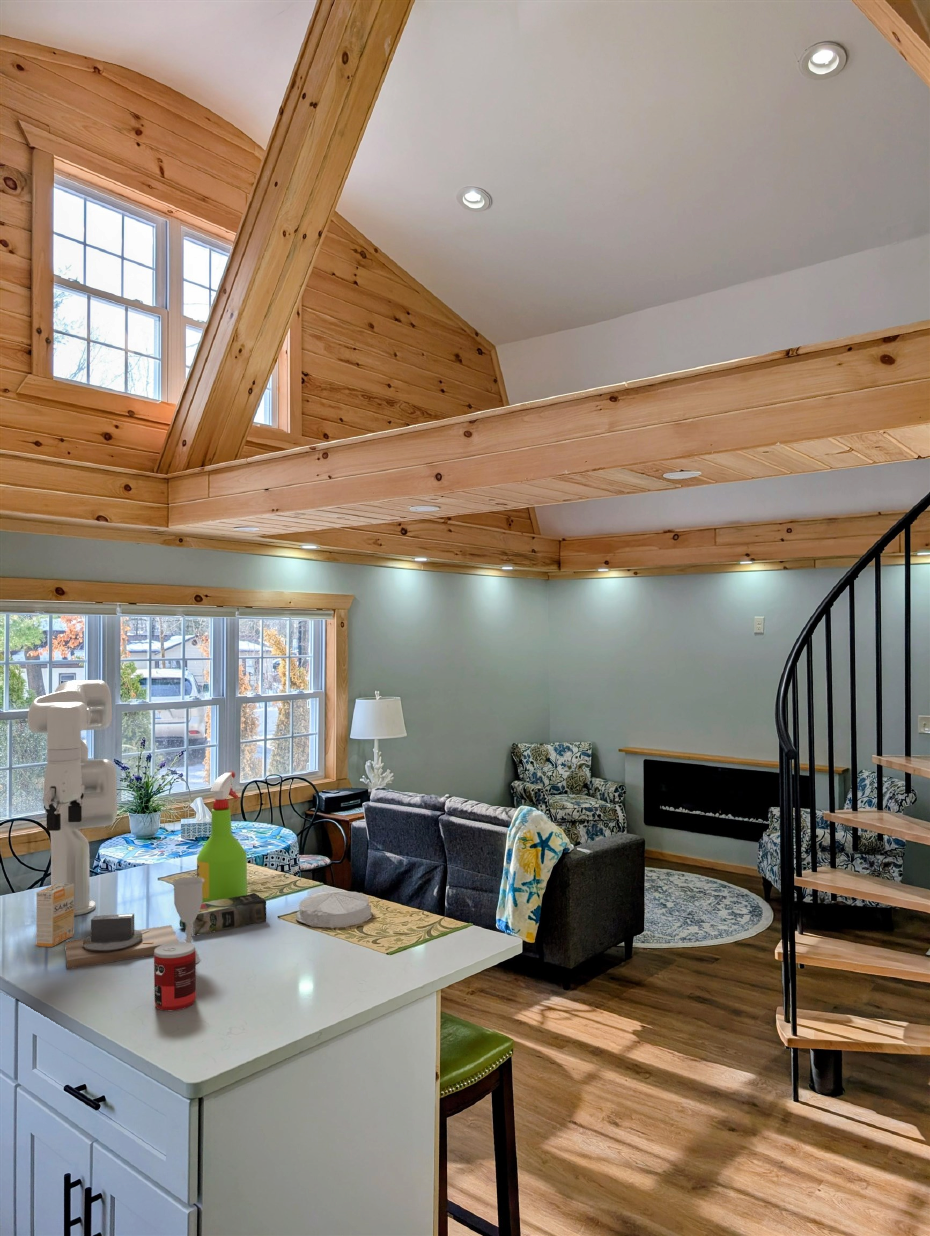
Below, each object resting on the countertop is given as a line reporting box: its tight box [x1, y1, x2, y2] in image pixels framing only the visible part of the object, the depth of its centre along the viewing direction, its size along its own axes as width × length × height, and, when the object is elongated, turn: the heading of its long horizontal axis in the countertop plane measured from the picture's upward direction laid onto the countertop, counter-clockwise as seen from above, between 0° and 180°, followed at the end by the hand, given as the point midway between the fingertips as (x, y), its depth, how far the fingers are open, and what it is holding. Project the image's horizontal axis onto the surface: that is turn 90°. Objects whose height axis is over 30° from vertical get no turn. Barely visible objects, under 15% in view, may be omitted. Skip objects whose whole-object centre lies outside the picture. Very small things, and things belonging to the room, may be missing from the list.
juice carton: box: [179, 892, 267, 937], centre depth 222 cm, size 20×10×6 cm, turn 123°
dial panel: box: [65, 924, 180, 970], centre depth 205 cm, size 14×24×2 cm, turn 116°
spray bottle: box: [196, 770, 248, 903], centre depth 247 cm, size 14×18×35 cm
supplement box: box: [35, 883, 75, 948], centre depth 212 cm, size 8×5×13 cm, turn 168°
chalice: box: [171, 876, 204, 964], centre depth 197 cm, size 7×7×18 cm
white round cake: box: [295, 890, 373, 929], centre depth 228 cm, size 20×20×7 cm
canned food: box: [153, 941, 197, 1011], centre depth 174 cm, size 8×8×11 cm
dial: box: [83, 913, 142, 952], centre depth 204 cm, size 13×13×6 cm
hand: (64, 826), depth 211 cm, fingers open, 9 cm apart
